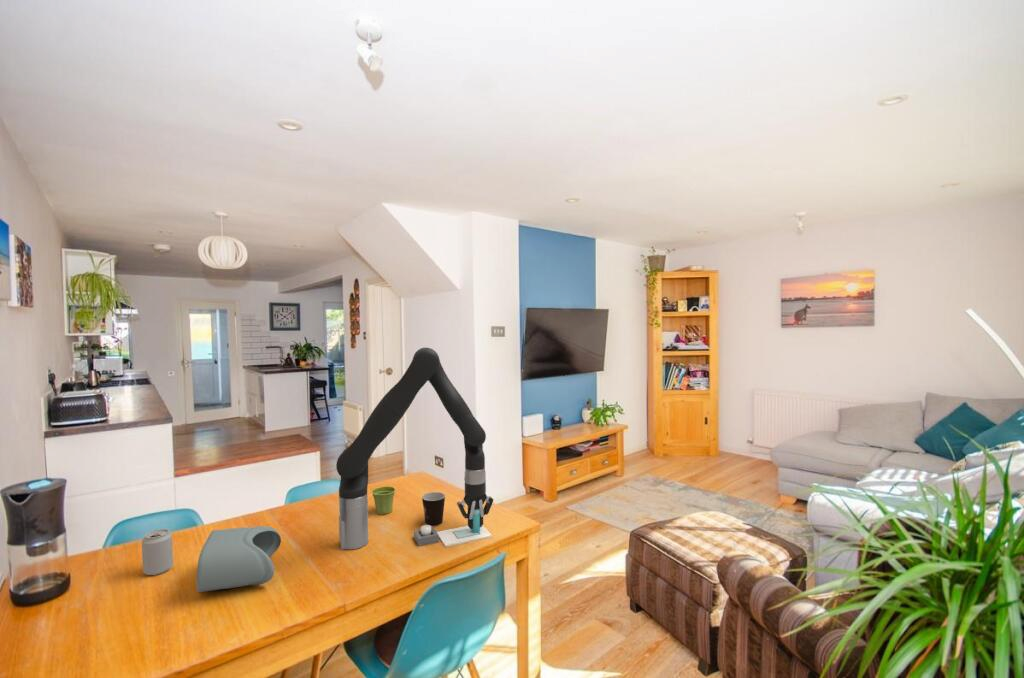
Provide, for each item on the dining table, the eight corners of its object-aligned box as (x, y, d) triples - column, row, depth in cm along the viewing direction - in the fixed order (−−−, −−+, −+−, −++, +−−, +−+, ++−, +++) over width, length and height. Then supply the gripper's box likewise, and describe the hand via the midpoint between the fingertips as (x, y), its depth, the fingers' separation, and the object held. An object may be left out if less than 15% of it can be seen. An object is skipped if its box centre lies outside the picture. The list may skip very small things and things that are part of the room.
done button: (422, 538, 164) (422, 530, 164) (419, 534, 167) (419, 526, 167) (432, 536, 166) (432, 528, 166) (429, 532, 169) (429, 524, 169)
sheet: (445, 547, 161) (445, 545, 161) (436, 533, 171) (436, 531, 171) (491, 536, 168) (491, 535, 168) (480, 524, 178) (480, 522, 178)
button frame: (418, 546, 162) (418, 538, 162) (413, 537, 168) (413, 530, 168) (438, 541, 165) (438, 534, 165) (433, 533, 171) (433, 526, 171)
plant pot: (367, 514, 188) (366, 493, 187) (380, 505, 197) (379, 485, 196) (388, 517, 185) (387, 495, 185) (400, 508, 194) (400, 487, 194)
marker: (472, 533, 169) (472, 511, 169) (469, 529, 172) (469, 507, 172) (481, 531, 171) (481, 509, 170) (478, 527, 174) (478, 506, 173)
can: (138, 578, 143) (136, 539, 142) (149, 566, 150) (148, 528, 150) (167, 575, 145) (165, 536, 144) (177, 562, 152) (175, 525, 152)
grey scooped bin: (214, 564, 151) (215, 524, 150) (280, 555, 158) (281, 517, 157) (195, 603, 130) (196, 556, 130) (273, 591, 137) (274, 547, 137)
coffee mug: (443, 527, 176) (443, 500, 176) (420, 527, 177) (419, 500, 176) (448, 514, 188) (447, 489, 188) (426, 514, 188) (426, 489, 188)
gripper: (459, 486, 164) (460, 535, 165) (497, 480, 170) (497, 527, 171) (453, 479, 171) (453, 526, 172) (489, 474, 177) (489, 519, 178)
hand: (475, 527), depth 172 cm, fingers closed on marker, 3 cm apart
